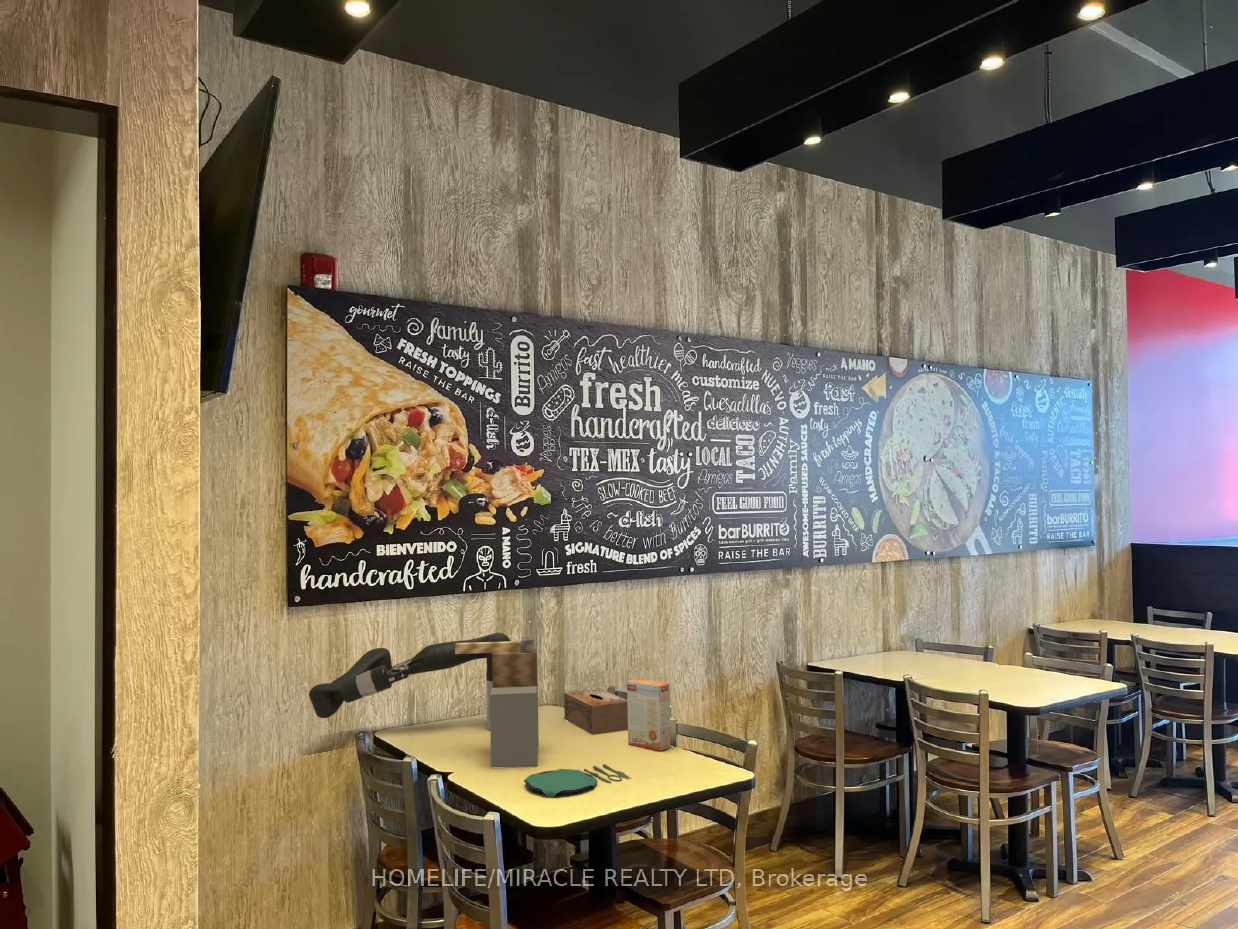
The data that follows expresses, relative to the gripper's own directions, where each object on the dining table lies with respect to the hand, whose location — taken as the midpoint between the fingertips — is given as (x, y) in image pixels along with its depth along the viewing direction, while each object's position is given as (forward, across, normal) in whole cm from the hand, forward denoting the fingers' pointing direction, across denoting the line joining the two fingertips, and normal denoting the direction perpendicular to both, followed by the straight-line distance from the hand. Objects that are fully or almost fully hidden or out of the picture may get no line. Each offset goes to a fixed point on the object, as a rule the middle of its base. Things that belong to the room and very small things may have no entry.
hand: (422, 662), depth 287 cm
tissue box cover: (+44, -28, -49) cm, 72 cm away
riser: (+18, +3, -37) cm, 42 cm away
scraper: (+22, 0, -5) cm, 23 cm away
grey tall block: (+18, +15, -36) cm, 43 cm away
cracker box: (+59, +5, -52) cm, 78 cm away
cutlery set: (+34, +38, -41) cm, 66 cm away
